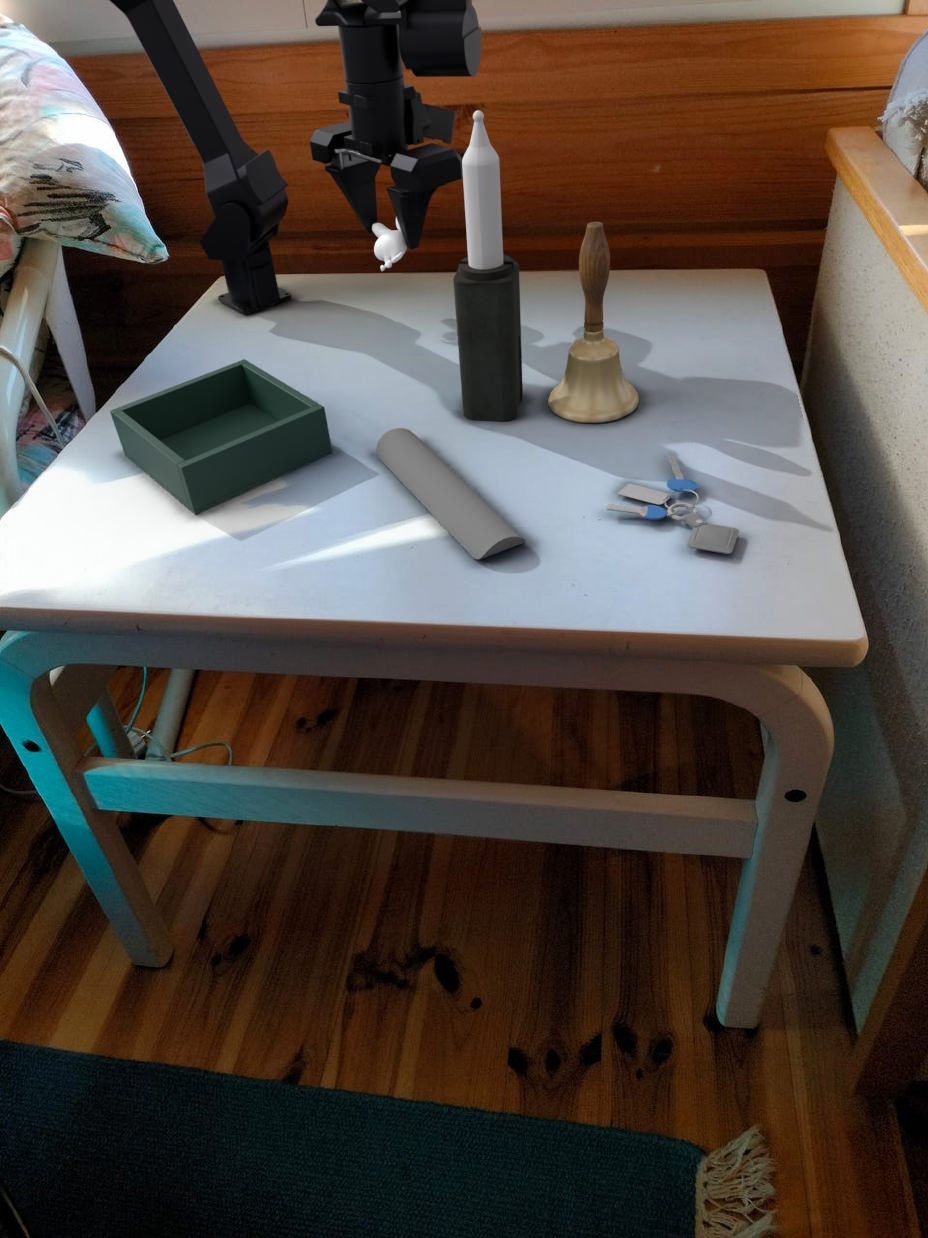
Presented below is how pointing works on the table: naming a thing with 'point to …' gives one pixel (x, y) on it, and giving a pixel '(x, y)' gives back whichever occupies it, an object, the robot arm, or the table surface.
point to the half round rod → (446, 495)
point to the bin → (222, 434)
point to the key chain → (702, 532)
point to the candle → (487, 293)
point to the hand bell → (593, 349)
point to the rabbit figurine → (388, 244)
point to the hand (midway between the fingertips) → (392, 240)
